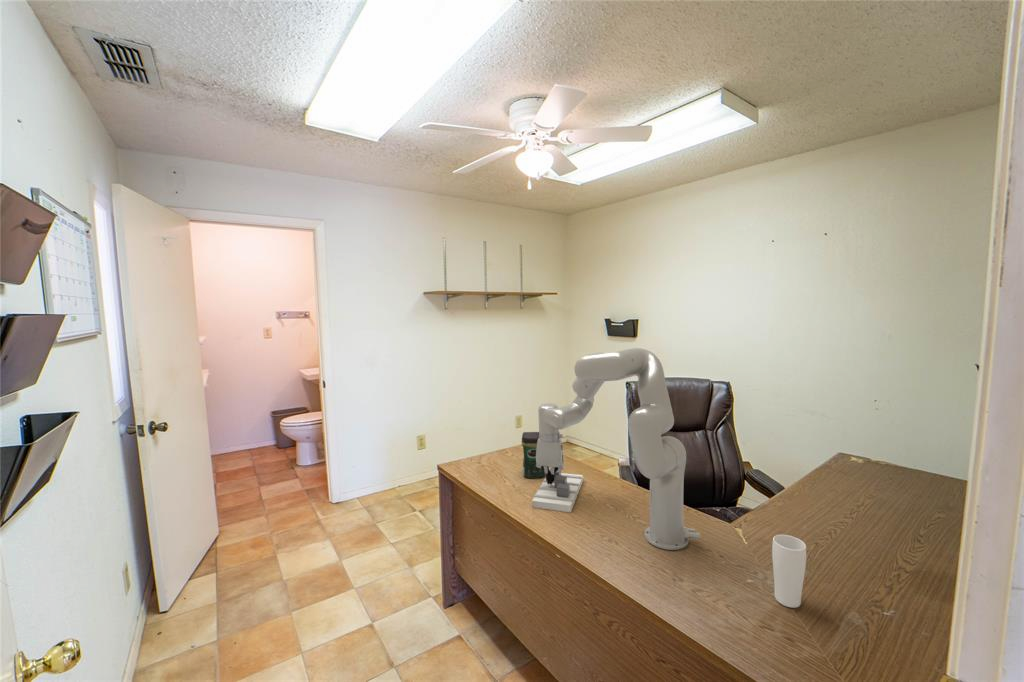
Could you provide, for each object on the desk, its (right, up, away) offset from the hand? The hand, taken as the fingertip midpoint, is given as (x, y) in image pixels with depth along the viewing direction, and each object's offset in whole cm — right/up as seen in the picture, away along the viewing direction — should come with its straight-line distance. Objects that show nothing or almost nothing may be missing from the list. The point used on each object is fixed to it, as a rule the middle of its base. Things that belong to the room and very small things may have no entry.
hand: (550, 482), depth 162 cm
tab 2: (+4, -1, -1) cm, 4 cm away
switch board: (+3, -4, -1) cm, 5 cm away
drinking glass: (+51, -8, -60) cm, 80 cm away
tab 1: (+2, 0, +6) cm, 7 cm away
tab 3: (+4, -2, -8) cm, 9 cm away
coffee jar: (-5, -3, +17) cm, 18 cm away
